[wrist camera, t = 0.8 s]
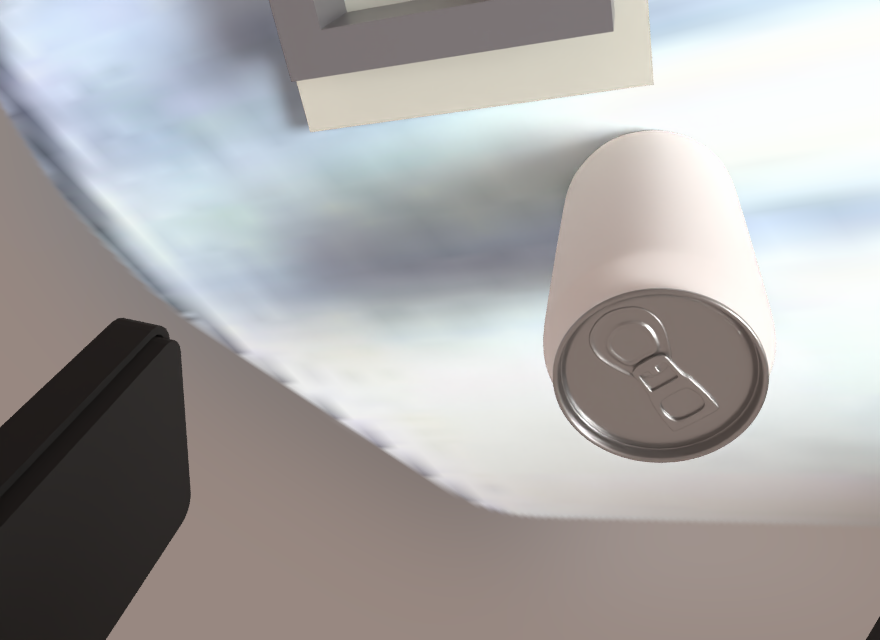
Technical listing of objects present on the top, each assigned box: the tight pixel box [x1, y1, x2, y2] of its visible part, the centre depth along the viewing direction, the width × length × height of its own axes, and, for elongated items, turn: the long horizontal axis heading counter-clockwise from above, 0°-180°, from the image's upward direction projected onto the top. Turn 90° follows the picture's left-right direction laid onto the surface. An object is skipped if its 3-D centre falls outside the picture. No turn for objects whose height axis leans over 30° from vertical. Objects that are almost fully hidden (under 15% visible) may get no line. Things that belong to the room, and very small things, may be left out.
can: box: [543, 130, 776, 463], centre depth 27 cm, size 6×6×12 cm
